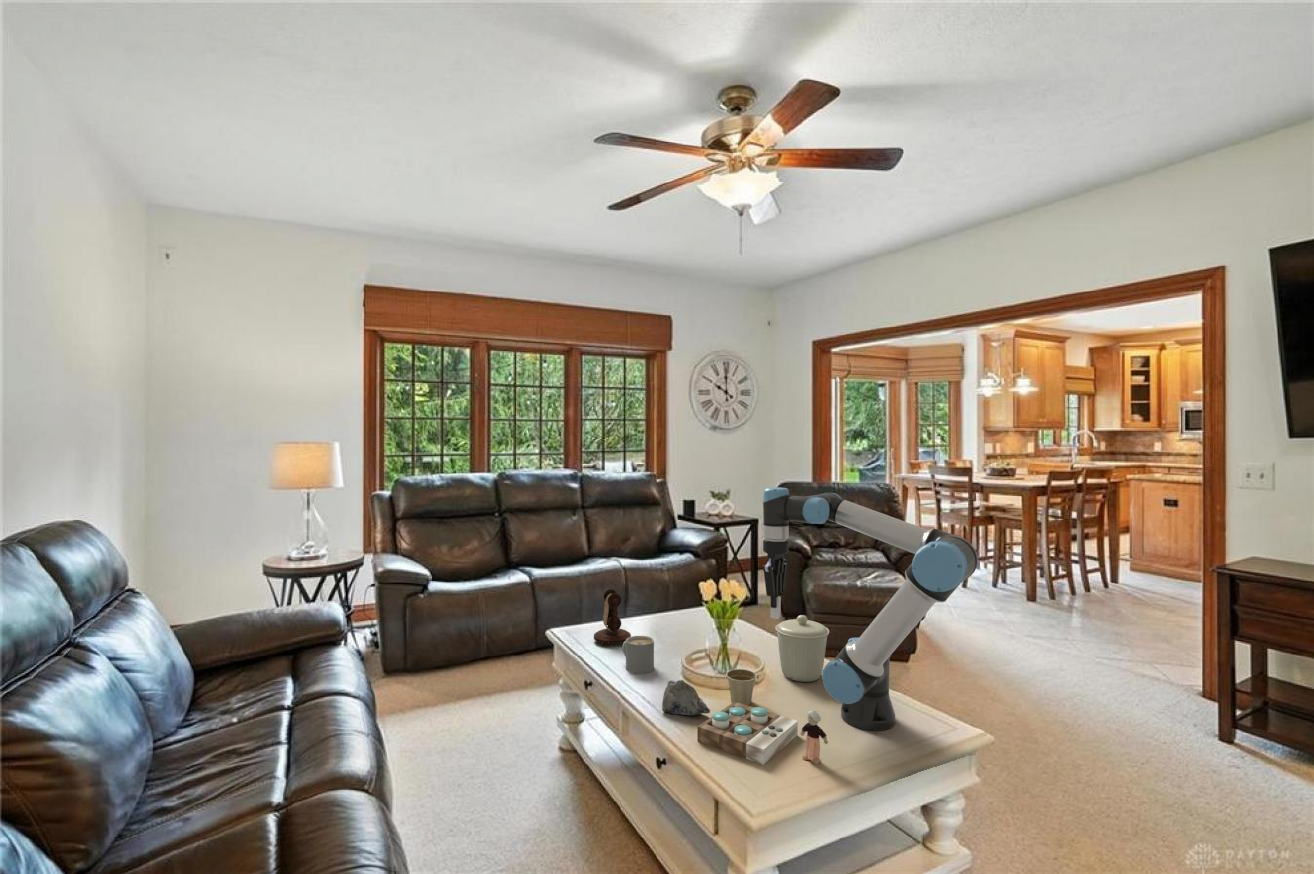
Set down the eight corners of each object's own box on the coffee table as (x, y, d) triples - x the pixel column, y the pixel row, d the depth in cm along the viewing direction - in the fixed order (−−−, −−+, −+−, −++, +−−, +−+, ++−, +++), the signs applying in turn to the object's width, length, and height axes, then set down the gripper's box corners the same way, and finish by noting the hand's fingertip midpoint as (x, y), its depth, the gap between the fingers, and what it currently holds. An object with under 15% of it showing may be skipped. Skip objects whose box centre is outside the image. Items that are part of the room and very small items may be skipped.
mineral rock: (712, 718, 186) (712, 684, 186) (682, 727, 181) (682, 692, 180) (686, 702, 197) (687, 670, 197) (657, 710, 191) (657, 677, 191)
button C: (748, 723, 182) (748, 709, 182) (740, 729, 179) (740, 715, 178) (734, 719, 185) (734, 705, 185) (726, 724, 181) (726, 710, 181)
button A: (770, 724, 178) (770, 710, 178) (762, 730, 174) (762, 716, 174) (755, 719, 181) (755, 705, 181) (747, 725, 177) (747, 711, 177)
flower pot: (755, 710, 192) (756, 681, 192) (724, 707, 194) (724, 679, 194) (757, 697, 201) (757, 670, 201) (727, 694, 203) (727, 667, 203)
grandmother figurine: (796, 759, 163) (796, 710, 163) (801, 753, 167) (801, 704, 167) (826, 767, 159) (826, 717, 159) (830, 761, 163) (830, 711, 163)
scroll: (590, 637, 259) (590, 588, 258) (625, 633, 263) (625, 585, 263) (598, 649, 244) (598, 597, 244) (635, 645, 249) (635, 594, 249)
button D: (732, 729, 175) (732, 714, 175) (723, 735, 171) (723, 720, 171) (718, 724, 178) (718, 710, 178) (709, 730, 174) (709, 716, 174)
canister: (811, 664, 230) (812, 606, 229) (839, 684, 212) (839, 621, 212) (766, 669, 225) (766, 610, 225) (790, 689, 207) (790, 625, 207)
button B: (754, 743, 171) (754, 728, 171) (746, 750, 167) (746, 734, 167) (739, 738, 174) (739, 723, 174) (731, 744, 170) (731, 729, 170)
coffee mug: (659, 669, 224) (659, 641, 224) (635, 675, 218) (635, 646, 218) (638, 658, 235) (639, 631, 235) (615, 663, 229) (615, 636, 229)
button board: (797, 735, 176) (797, 720, 176) (763, 765, 161) (763, 748, 160) (734, 715, 189) (734, 701, 189) (697, 741, 173) (697, 725, 173)
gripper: (773, 535, 198) (773, 610, 198) (754, 540, 188) (754, 620, 188) (796, 537, 194) (796, 614, 194) (777, 543, 183) (777, 625, 184)
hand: (775, 617), depth 191 cm, fingers closed
